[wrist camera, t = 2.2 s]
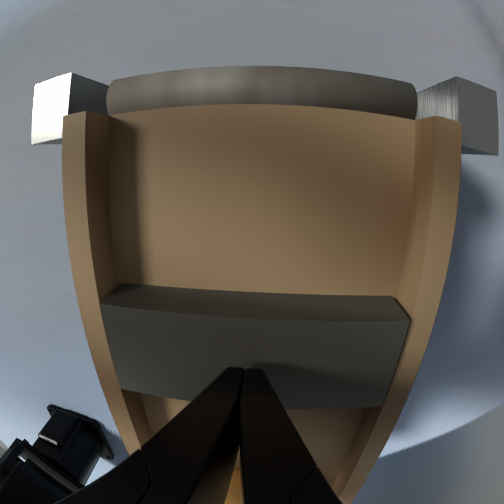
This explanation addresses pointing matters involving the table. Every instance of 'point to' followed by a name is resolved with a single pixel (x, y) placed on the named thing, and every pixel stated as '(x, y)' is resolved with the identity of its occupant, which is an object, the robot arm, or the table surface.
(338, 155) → the tray
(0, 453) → the french press
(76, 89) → the hinge stand
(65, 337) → the table surface
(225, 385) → the robot arm
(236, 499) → the ball
